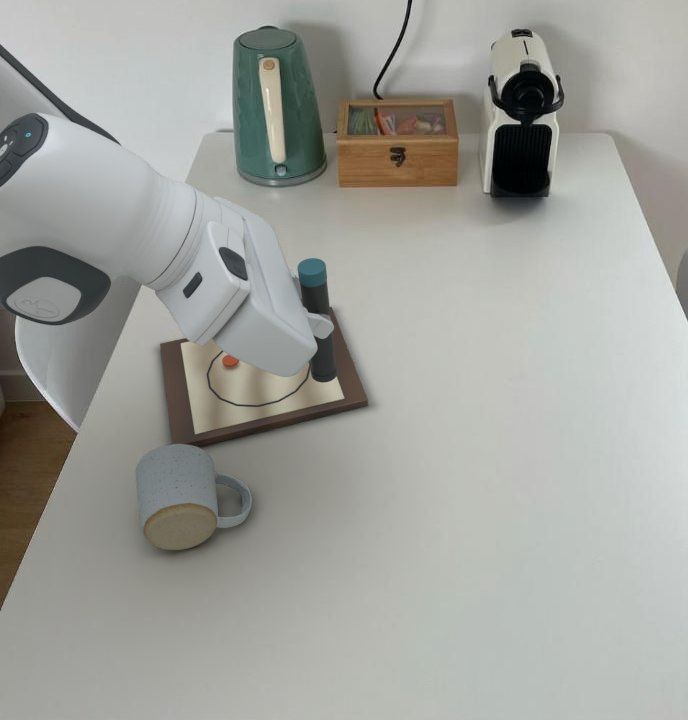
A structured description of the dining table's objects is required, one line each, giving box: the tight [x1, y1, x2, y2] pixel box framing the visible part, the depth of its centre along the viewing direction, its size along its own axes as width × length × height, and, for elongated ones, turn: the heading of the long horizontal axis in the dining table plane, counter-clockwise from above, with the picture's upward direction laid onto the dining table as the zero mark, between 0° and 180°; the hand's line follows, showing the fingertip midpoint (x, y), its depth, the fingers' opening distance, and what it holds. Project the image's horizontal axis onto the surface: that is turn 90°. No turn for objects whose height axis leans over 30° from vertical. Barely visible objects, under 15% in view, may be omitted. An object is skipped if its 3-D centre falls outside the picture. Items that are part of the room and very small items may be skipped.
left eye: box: [222, 355, 239, 367], centre depth 97 cm, size 2×2×1 cm
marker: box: [297, 257, 338, 383], centre depth 75 cm, size 3×3×13 cm
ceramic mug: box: [134, 443, 253, 551], centre depth 80 cm, size 11×8×8 cm
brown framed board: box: [159, 306, 369, 448], centre depth 97 cm, size 22×18×1 cm
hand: (323, 316), depth 75 cm, fingers closed on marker, 2 cm apart
